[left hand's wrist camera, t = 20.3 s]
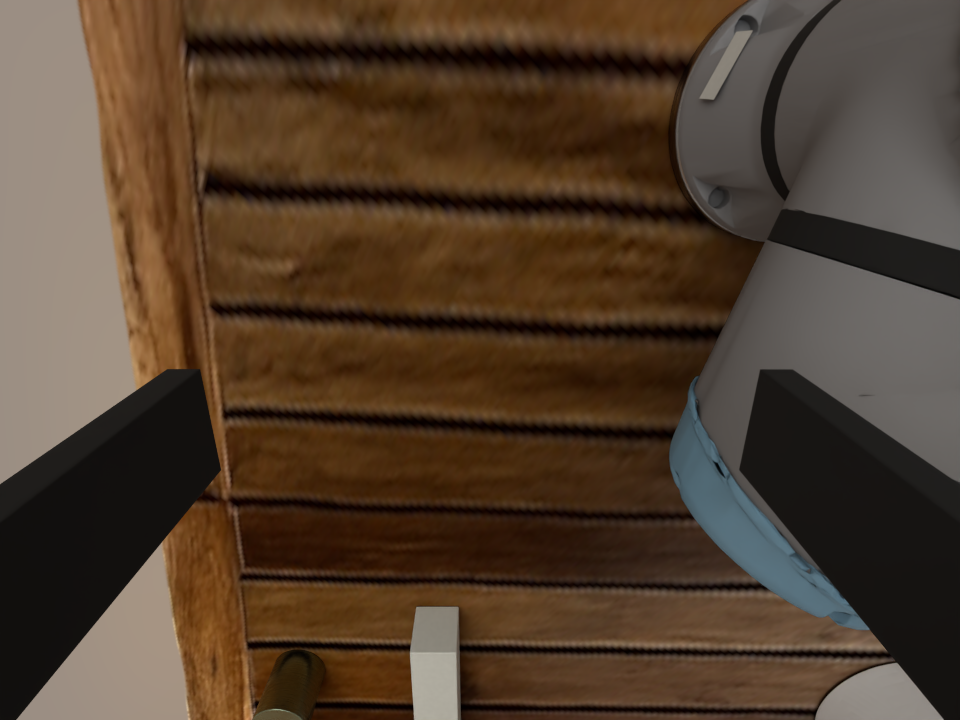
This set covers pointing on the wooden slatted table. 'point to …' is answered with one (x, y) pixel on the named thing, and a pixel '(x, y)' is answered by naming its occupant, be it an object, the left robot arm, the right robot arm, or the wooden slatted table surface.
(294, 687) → the sage tin
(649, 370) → the wooden slatted table surface
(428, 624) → the bar
